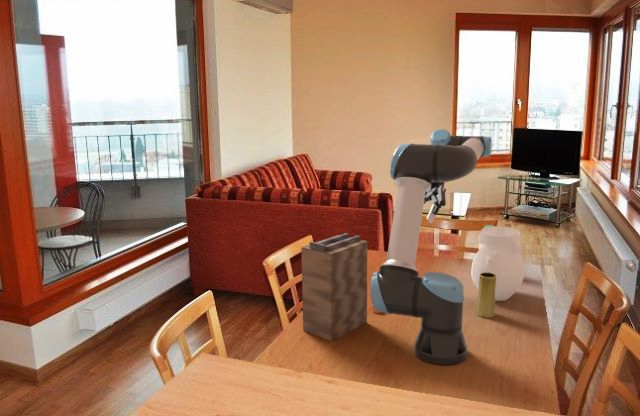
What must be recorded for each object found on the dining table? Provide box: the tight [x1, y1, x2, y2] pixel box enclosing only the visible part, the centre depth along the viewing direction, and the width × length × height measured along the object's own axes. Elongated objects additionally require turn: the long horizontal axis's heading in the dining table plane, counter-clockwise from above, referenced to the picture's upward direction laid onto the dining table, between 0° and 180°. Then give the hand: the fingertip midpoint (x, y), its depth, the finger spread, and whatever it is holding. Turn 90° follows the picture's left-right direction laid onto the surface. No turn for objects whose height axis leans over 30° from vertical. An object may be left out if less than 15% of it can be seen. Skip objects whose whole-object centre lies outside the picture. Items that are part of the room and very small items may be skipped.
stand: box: [300, 232, 368, 342], centre depth 181 cm, size 18×12×30 cm, turn 138°
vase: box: [475, 272, 496, 319], centre depth 190 cm, size 6×6×14 cm
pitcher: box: [470, 225, 525, 302], centre depth 205 cm, size 19×18×25 cm
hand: (415, 224), depth 206 cm, fingers open, 13 cm apart
